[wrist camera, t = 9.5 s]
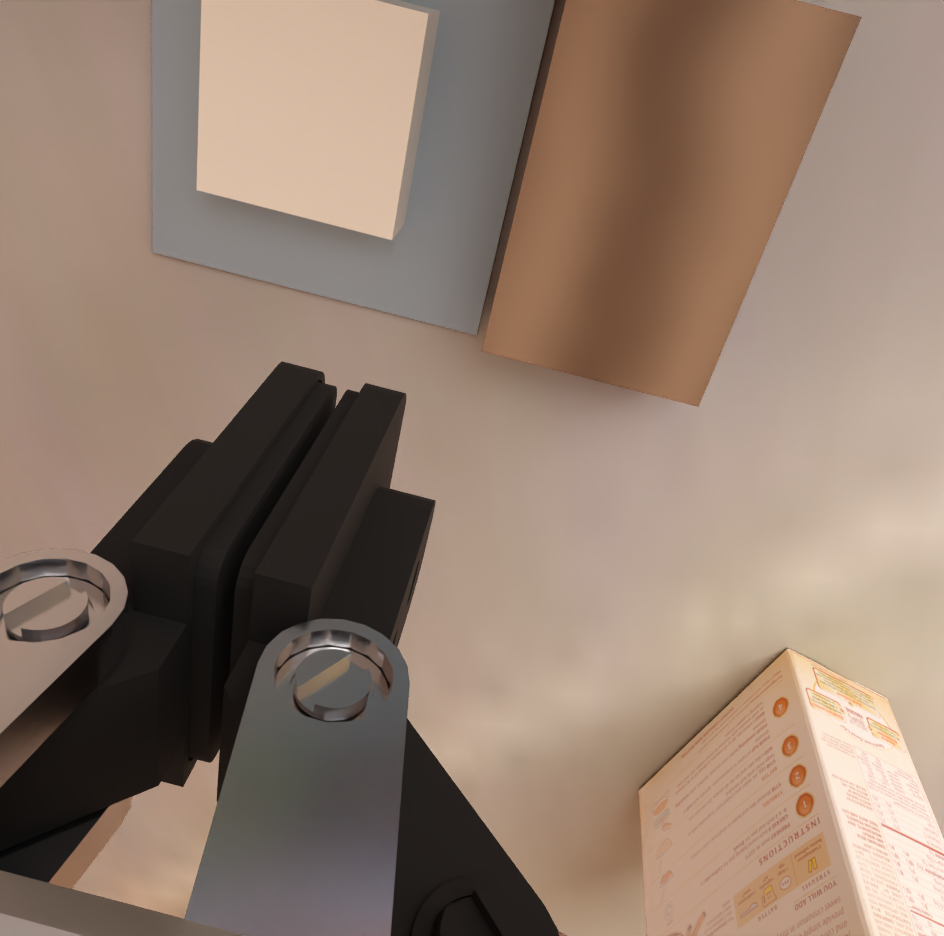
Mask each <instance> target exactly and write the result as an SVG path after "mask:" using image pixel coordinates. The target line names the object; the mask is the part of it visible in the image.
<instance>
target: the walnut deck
mask: <svg viewBox="0 0 944 936" xmlns="http://www.w3.org/2000/svg"><path fill="white" fill-rule="evenodd" d="M860 19H861V17H859V16H855V15H851V14H847V13H843V12H839V11H835V10H831V9H827V8H824V7H820V6H816V5H812V4H808V3H804V2H800V1H796V0H566V2H565V6H564V10H563V14H562V18H561V23H560V27H559V31H558V35H557V39H556V43H555V48H554V52H553V56H552V60H551V64H550V68H549V73H548V77H547V81H546V85H545V89H544V93H543V98H542V102H541V106H540V110H539V114H538V118H537V123H536V127H535V131H534V135H533V139H532V143H531V147H530V152H529V156H528V160H527V164H526V168H525V172H524V177H523V181H522V185H521V189H520V193H519V197H518V202H517V206H516V210H515V214H514V218H513V222H512V227H511V231H510V235H509V239H508V243H507V247H506V252H505V256H504V260H503V264H502V268H501V272H500V276H499V281H498V285H497V289H496V293H495V297H494V301H493V306H492V310H491V314H490V318H489V322H488V326H487V331H486V335H485V339H484V343H483V347H482V351H484V352H488V353H491V354H495V355H499V356H503V357H507V358H511V359H515V360H519V361H523V362H526V363H530V364H534V365H538V366H542V367H546V368H550V369H554V370H558V371H561V372H565V373H569V374H573V375H577V376H581V377H585V378H589V379H593V380H596V381H600V382H604V383H608V384H612V385H616V386H620V387H624V388H628V389H631V390H635V391H639V392H643V393H647V394H651V395H655V396H659V397H663V398H666V399H670V400H674V401H678V402H682V403H686V404H690V405H694V406H698V407H699V404H700V402H701V399H702V397H703V395H704V392H705V390H706V388H707V385H708V383H709V380H710V378H711V376H712V373H713V371H714V368H715V366H716V364H717V361H718V359H719V356H720V354H721V352H722V349H723V347H724V344H725V342H726V340H727V337H728V335H729V333H730V330H731V328H732V325H733V323H734V321H735V318H736V316H737V313H738V311H739V309H740V306H741V304H742V301H743V299H744V297H745V294H746V292H747V289H748V287H749V285H750V282H751V280H752V278H753V275H754V273H755V270H756V268H757V266H758V263H759V261H760V258H761V256H762V254H763V251H764V249H765V246H766V244H767V242H768V239H769V237H770V235H771V232H772V230H773V227H774V225H775V223H776V220H777V218H778V215H779V213H780V211H781V208H782V206H783V203H784V201H785V199H786V196H787V194H788V191H789V189H790V187H791V184H792V182H793V180H794V177H795V175H796V172H797V170H798V168H799V165H800V163H801V160H802V158H803V156H804V153H805V151H806V148H807V146H808V144H809V141H810V139H811V137H812V134H813V132H814V129H815V127H816V125H817V122H818V120H819V117H820V115H821V113H822V110H823V108H824V105H825V103H826V101H827V98H828V96H829V93H830V91H831V89H832V86H833V84H834V82H835V79H836V77H837V74H838V72H839V70H840V67H841V65H842V62H843V60H844V58H845V55H846V53H847V50H848V48H849V46H850V43H851V41H852V38H853V36H854V34H855V31H856V29H857V27H858V24H859V22H860Z"/></svg>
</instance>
